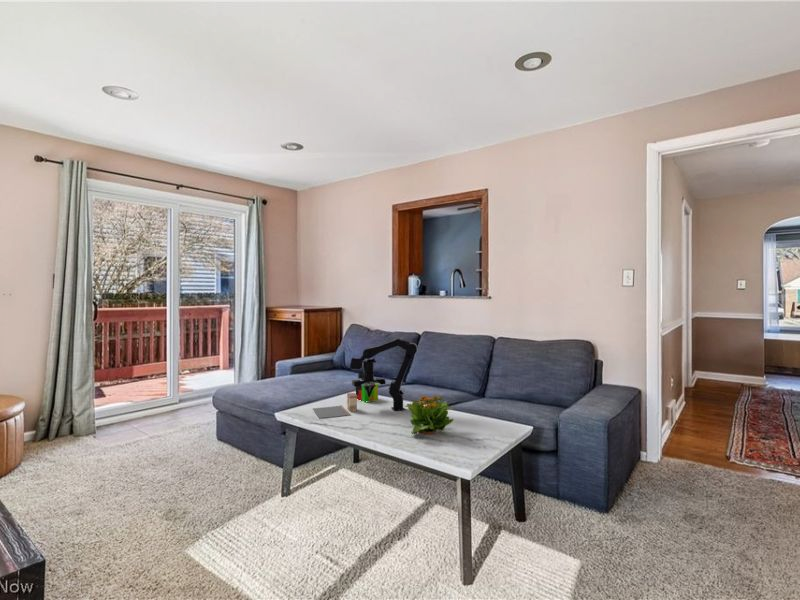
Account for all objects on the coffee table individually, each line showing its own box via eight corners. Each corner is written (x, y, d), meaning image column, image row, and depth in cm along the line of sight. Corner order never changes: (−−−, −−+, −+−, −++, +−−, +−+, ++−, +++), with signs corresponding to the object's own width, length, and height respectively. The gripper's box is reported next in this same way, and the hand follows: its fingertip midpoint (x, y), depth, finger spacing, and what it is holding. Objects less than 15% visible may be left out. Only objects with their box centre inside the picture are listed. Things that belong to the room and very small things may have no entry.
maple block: (356, 411, 236) (356, 395, 236) (349, 411, 234) (349, 395, 234) (354, 408, 241) (353, 392, 241) (347, 409, 240) (347, 393, 240)
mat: (350, 415, 227) (350, 414, 227) (319, 418, 221) (319, 417, 221) (341, 406, 246) (341, 405, 246) (312, 409, 239) (312, 408, 239)
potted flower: (394, 426, 208) (394, 391, 207) (436, 420, 217) (436, 387, 217) (417, 442, 185) (417, 403, 185) (462, 435, 195) (462, 397, 194)
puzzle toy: (368, 396, 269) (368, 381, 269) (378, 399, 261) (378, 383, 261) (355, 399, 263) (355, 383, 262) (364, 402, 255) (364, 386, 255)
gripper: (379, 366, 252) (379, 392, 252) (349, 368, 245) (349, 395, 245) (385, 369, 242) (385, 396, 242) (354, 371, 235) (354, 399, 235)
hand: (368, 397), depth 241 cm, fingers closed
